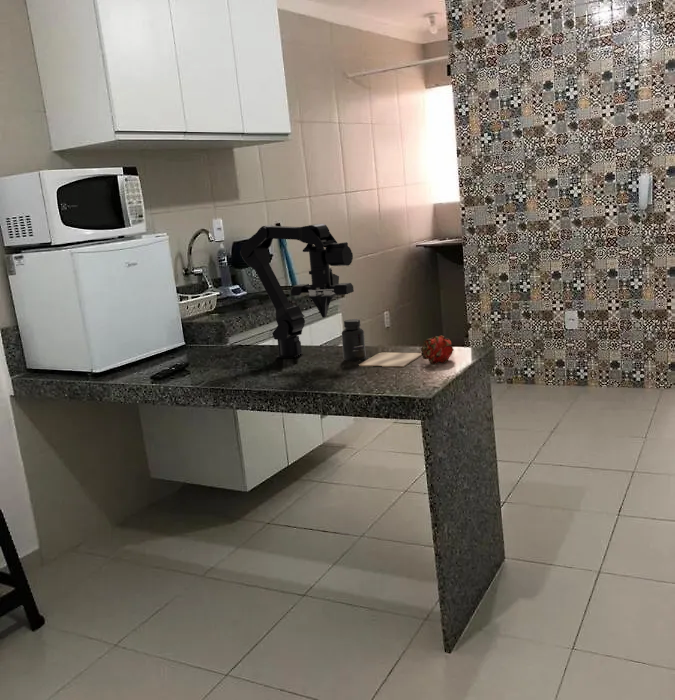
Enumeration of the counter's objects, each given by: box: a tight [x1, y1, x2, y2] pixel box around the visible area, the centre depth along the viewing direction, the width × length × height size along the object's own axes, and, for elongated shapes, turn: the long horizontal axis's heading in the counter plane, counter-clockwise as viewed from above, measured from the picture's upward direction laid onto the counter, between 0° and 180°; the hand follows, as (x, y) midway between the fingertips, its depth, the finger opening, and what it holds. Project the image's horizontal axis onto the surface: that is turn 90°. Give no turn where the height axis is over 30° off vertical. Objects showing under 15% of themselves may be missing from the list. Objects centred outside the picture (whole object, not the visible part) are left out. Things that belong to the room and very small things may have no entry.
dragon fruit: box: [420, 334, 454, 365], centre depth 211 cm, size 8×8×12 cm
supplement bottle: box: [341, 318, 367, 362], centre depth 224 cm, size 7×7×12 cm
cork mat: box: [358, 351, 423, 368], centre depth 220 cm, size 14×16×1 cm
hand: (324, 317), depth 228 cm, fingers closed
